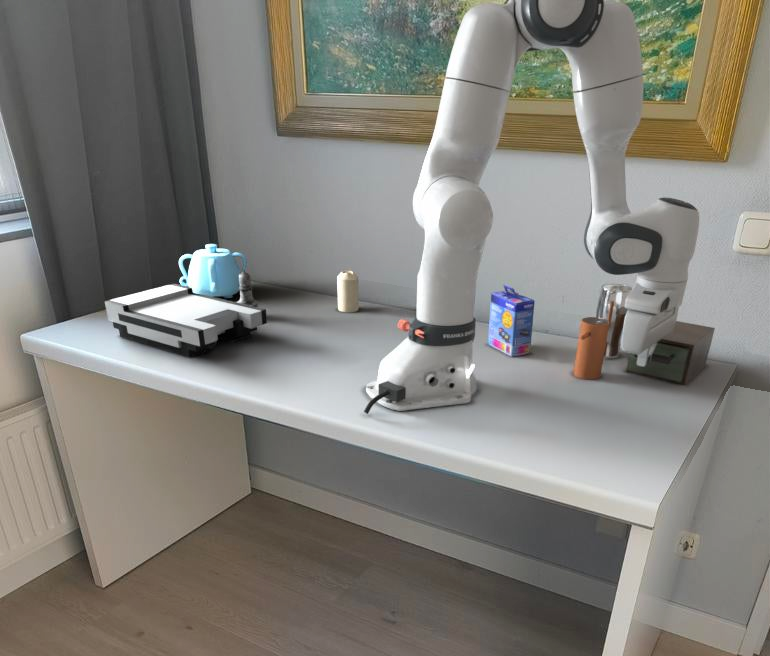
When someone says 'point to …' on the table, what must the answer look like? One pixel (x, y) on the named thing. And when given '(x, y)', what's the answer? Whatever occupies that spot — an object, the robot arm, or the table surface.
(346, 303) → the candle
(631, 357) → the drawer
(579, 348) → the orange mug
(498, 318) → the ink cartridge box
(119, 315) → the game console
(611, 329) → the beer glass
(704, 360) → the cabinet
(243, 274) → the salt shaker
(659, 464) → the table surface
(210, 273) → the decorative pot
